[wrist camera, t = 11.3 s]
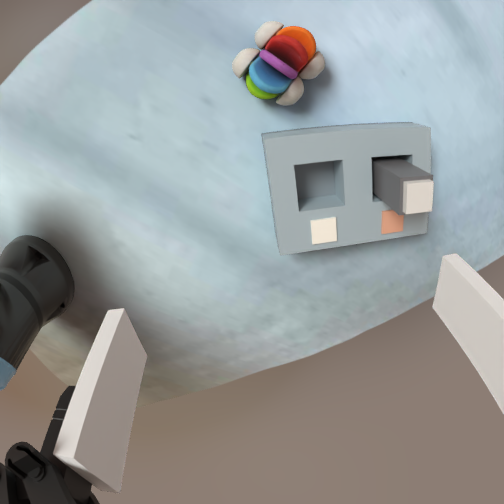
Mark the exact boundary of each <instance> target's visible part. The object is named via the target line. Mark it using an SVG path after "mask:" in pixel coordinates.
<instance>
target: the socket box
mask: <svg viewBox="0 0 504 504" xmlns="http://www.w3.org/2000/svg"><path fill="white" fill-rule="evenodd" d="M262 140H263V147H264V154H265V161H266V168H267V174H268V181H269V189H270V196H271V203H272V210H273V218H274V225H275V233H276V239H277V244H278V248H279V253H280V255H287V254H294V253H300V252H307V251H314V250H320V249H327V248H334V247H340V246H347V245H353V244H360V243H366V242H373V241H379V240H386V239H392V238H399V237H405V236H412V235H418V234H424V233H427V224H428V212H423V213H415V214H407V215H400V216H399V215H398V214H397V213H396V212H395V211H394V210H393V209H391V208H390V207H389V206H388V205H387V204H386V203H385V202H383V201H382V200H381V199H380V198H379V197H378V196H377V195H375V194H374V193H373V192H372V159H371V157H380V156H397V157H399V158H401V159H403V160H405V161H407V162H409V163H411V164H413V165H415V166H416V167H418V168H420V169H422V170H424V171H426V172H428V173H430V174H431V128H430V127H426V126H423V125H419V124H415V123H412V122H399V123H368V124H350V125H336V126H324V127H313V128H303V129H294V130H285V131H277V132H269V133H262Z"/></svg>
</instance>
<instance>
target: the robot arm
mask: <svg viewBox="0 0 504 504" xmlns="http://www.w3.org/2000/svg"><path fill="white" fill-rule="evenodd" d="M73 294H74V284H73V279H72V275H71V273H70V270H69V268H68V266H67V264H66V263H65V261H64V260H63V258H62V257H61V255H60V254H59V253H58V252H57V251H56V250H55V249H54V248H53V247H52V246H51V245H49V244H48V243H47V242H45V241H43V240H42V239H40V238H37V237H34V236H29V235H24V236H19V237H17V238H15V239H14V240H13V241H12V242H10V243H9V244H8V245H7V246H6V247H5V249H4V250H3V252H2V254H1V256H0V391H1V390H3V389H4V388H5V387H6V386H7V384H8V382H9V381H10V380H11V378H12V377H13V375H15V374H16V370H17V368H18V366H19V365H20V363H21V361H22V359H23V358H24V356H25V354H26V352H27V351H28V349H29V347H30V346H31V344H32V342H33V341H34V339H35V337H36V336H37V334H38V332H39V331H40V329H41V328H42V327H43V326H44V325H46V324H47V323H49V322H50V321H52V320H53V319H55V318H56V317H58V316H59V315H61V314H62V313H63V312H64V311H65V310H66V308H67V307H68V305H69V304H70V302H71V300H72V298H73ZM433 309H434V310H435V312H436V313H437V314H438V316H439V317H440V318H441V320H442V321H443V322H444V324H445V325H446V326H447V328H448V329H449V331H450V332H451V333H452V335H453V336H454V338H455V339H456V340H457V342H458V343H459V345H460V346H461V348H462V349H463V351H464V352H465V353H466V355H467V356H468V358H469V359H470V361H471V362H472V364H473V365H474V367H475V368H476V370H477V372H478V373H479V375H480V376H481V378H482V379H483V381H484V382H485V384H486V386H487V387H488V389H489V390H490V392H491V394H492V395H493V397H494V399H495V400H496V402H497V404H498V405H499V407H500V409H501V411H502V412H503V414H504V300H503V299H502V298H501V296H500V295H499V294H498V293H497V292H496V291H495V290H494V289H493V288H492V287H491V286H490V285H489V284H488V283H487V282H486V281H484V280H483V278H482V277H481V276H480V275H479V274H478V273H477V272H476V271H475V270H474V269H472V268H471V267H470V266H469V265H468V264H467V263H466V262H465V261H464V260H463V259H462V258H461V257H460V256H459V255H457V254H456V253H455V254H450V255H445V256H443V258H442V263H441V269H440V274H439V279H438V284H437V289H436V294H435V298H434V303H433ZM146 360H147V354H146V352H145V350H144V348H143V346H142V344H141V342H140V340H139V338H138V336H137V334H136V332H135V330H134V328H133V326H132V323H131V321H130V319H129V317H128V315H127V313H126V310H125V308H122V309H113V310H108V312H107V314H106V316H105V318H104V320H103V323H102V325H101V327H100V329H99V332H98V334H97V336H96V338H95V341H94V343H93V345H92V348H91V350H90V352H89V355H88V357H87V360H86V362H85V365H84V367H83V370H82V372H81V375H80V377H79V380H78V382H77V385H76V386H68V388H67V389H66V390H65V391H64V392H63V394H62V395H61V396H60V399H59V401H58V404H57V406H56V410H55V412H54V414H53V420H51V423H50V426H49V428H48V431H47V434H46V437H45V440H44V443H43V446H42V449H41V452H38V451H37V450H36V449H35V448H33V446H31V445H30V444H28V443H27V442H19V443H16V444H14V445H13V446H12V447H11V448H10V449H9V451H8V452H7V454H6V458H5V466H4V465H3V464H2V463H0V504H99V502H98V500H97V499H96V497H95V495H94V494H93V493H92V492H91V486H92V485H94V486H95V487H96V488H98V489H99V490H101V491H107V492H114V493H120V491H121V484H122V478H123V471H124V466H125V460H126V454H127V448H128V443H129V438H130V432H131V428H132V423H133V418H134V413H135V408H136V404H137V399H138V395H139V390H140V386H141V381H142V377H143V373H144V368H145V364H146Z"/></svg>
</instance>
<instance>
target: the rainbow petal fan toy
mask: <svg viewBox="0 0 504 504" xmlns="http://www.w3.org/2000/svg"><path fill="white" fill-rule="evenodd" d="M283 26H284V25H283V24H282V23H280V22H276V21H270V22H266V23H264V24H263V25H262V26H261V27H260V28H259V29H258V30H257V32H256V33H255V42H256V44H257V46H258V47H259V48H260V49H261V50H262V49H264V48H265V50H262V51H261V52H260V50H258V49H254V48H247V49H244V50H242V51H241V52H240V53H239V54H238V55H237V56H236V57H235V59H234V60H233V62H232V68H233V72H234V73H235V75H236V76H237V77H238V78H241V77H242V76H243V75H244V74H245V73H246V72H247V70H248V69H249V72H248V73H247V74H246V85H247V88H248V90H249V91H250V93H251V94H252V95H254V96H255V97H257V98H260V99H271V98H275V97H277V96H278V95H279V97H278V98H277V100H276V103H277V104H280V105H284V106H288V105H293V104H295V103H296V102H297V101H298V100H299V99H300V97H301V96H302V95H303V92H304V85H303V82H302V80H301V79H300V78H302V79H314V78H316V77H317V76H318V75H319V74H320V73H321V72H322V70H323V69H324V67H325V60H324V57H323V55H322V54H321V53H320V52H319V51H318V52H316V53H315V51H316V42H315V39H314V37H313V35H312V34H311V33H310V32H309V31H308V30H306V29H304V28H302V27H297V26H290V27H286V28H283ZM282 28H283V29H282ZM297 72H298V73H297Z"/></svg>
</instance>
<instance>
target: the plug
mask: <svg viewBox="0 0 504 504" xmlns="http://www.w3.org/2000/svg"><path fill="white" fill-rule="evenodd" d="M371 159H372V192H373V193H374V194H375V195H377V196H378V197H379V198H380V199H381V200H382V201H383V202H385V203H386V204H387V205H388V206H389V207H390V208H391V209H393V210H394V211H395V212H396V213H397V214H398V215H399V216H400V215H407V214H415V213H423V212H430V211H432V201H433V183H434V182H433V175H431V174H430V173H428V172H426V171H424V170H422V169H420V168H418V167H416V166H415V165H413V164H411V163H409V162H407V161H405V160H403V159H401V158H399V157H397V156H380V157H371Z"/></svg>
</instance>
